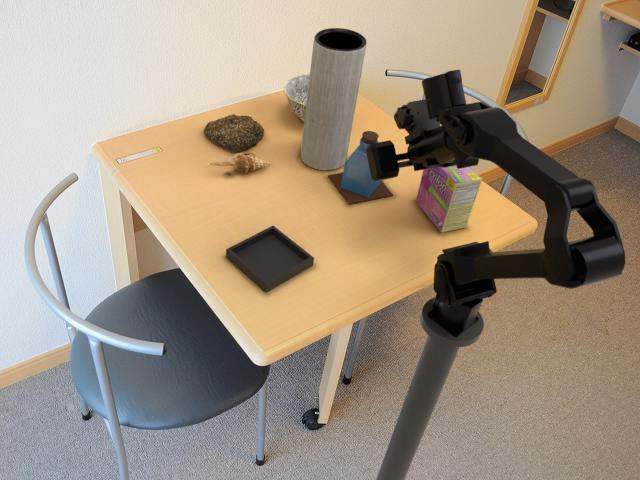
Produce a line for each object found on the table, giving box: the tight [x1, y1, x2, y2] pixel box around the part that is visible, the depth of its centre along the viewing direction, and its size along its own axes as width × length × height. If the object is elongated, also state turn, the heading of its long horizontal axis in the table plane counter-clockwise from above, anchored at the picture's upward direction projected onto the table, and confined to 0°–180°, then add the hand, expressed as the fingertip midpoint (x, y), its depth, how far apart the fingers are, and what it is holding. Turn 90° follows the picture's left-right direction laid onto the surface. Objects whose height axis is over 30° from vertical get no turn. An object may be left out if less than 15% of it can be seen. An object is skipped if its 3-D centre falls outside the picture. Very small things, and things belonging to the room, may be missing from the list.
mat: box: [327, 172, 394, 206], centre depth 136 cm, size 10×10×1 cm
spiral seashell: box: [207, 151, 273, 177], centre depth 137 cm, size 14×5×4 cm, turn 127°
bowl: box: [283, 73, 310, 123], centre depth 152 cm, size 16×16×8 cm
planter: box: [300, 27, 368, 171], centre depth 134 cm, size 10×10×27 cm
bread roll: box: [203, 113, 265, 153], centre depth 147 cm, size 13×12×5 cm
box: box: [415, 166, 483, 233], centre depth 126 cm, size 10×6×12 cm, turn 17°
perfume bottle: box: [341, 130, 382, 198], centre depth 132 cm, size 6×6×12 cm
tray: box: [225, 225, 315, 293], centre depth 118 cm, size 11×11×2 cm
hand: (395, 163), depth 120 cm, fingers open, 9 cm apart
